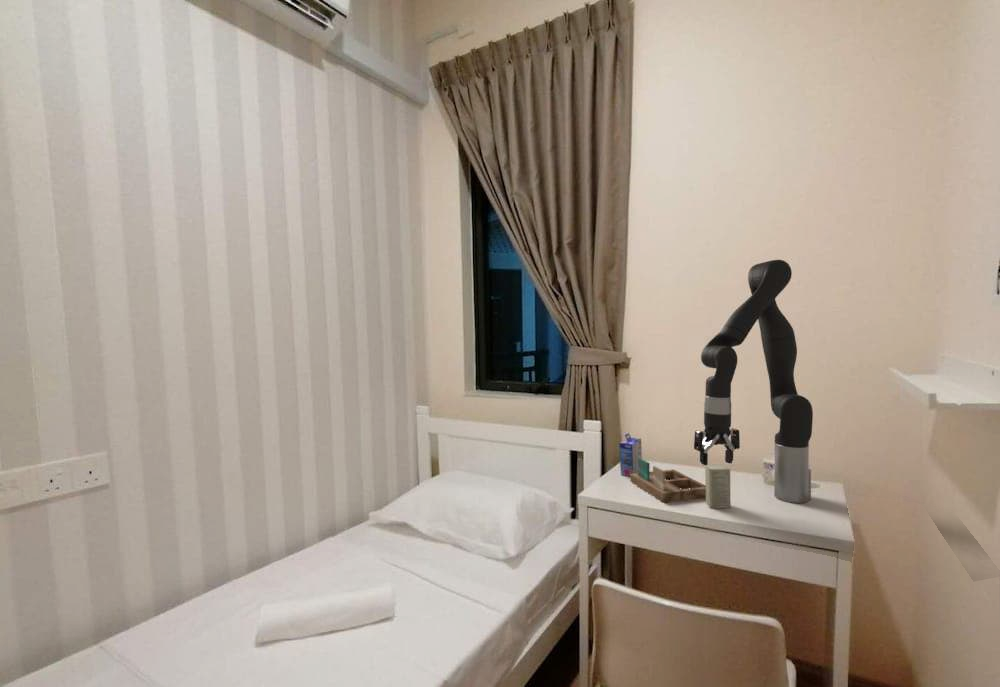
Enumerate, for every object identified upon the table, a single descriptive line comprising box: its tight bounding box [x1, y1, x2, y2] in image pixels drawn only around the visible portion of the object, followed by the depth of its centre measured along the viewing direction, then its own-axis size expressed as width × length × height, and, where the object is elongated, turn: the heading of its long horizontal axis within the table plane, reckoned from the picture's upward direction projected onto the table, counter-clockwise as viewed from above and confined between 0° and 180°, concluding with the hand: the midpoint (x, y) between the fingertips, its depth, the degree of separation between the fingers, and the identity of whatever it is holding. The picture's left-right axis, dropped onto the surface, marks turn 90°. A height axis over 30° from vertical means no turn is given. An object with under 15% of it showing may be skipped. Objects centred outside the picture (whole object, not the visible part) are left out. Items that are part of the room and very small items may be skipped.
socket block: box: [630, 458, 706, 503], centre depth 164 cm, size 17×20×9 cm
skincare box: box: [704, 464, 731, 509], centre depth 149 cm, size 6×4×12 cm
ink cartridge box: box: [619, 433, 643, 477], centre depth 183 cm, size 10×6×14 cm, turn 146°
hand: (716, 463), depth 149 cm, fingers open, 8 cm apart
